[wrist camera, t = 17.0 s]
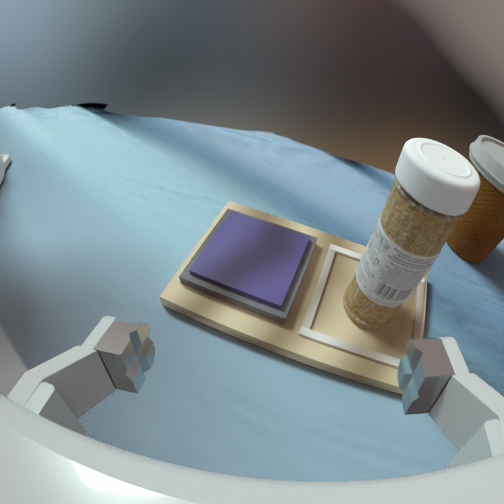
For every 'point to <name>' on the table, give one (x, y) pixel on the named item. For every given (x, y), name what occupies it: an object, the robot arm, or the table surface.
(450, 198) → the sprinkles bottle
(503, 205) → the disposable coffee cup
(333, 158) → the table surface
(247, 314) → the stamp station
